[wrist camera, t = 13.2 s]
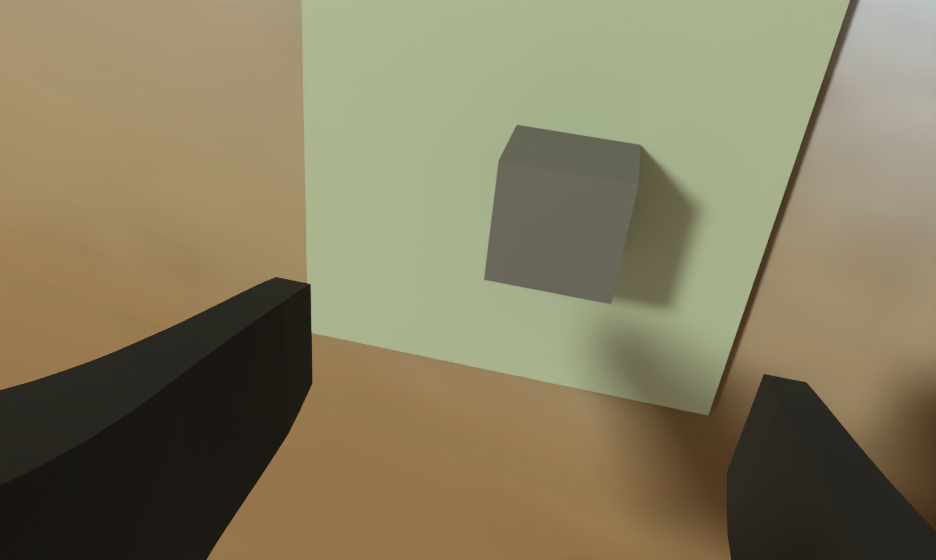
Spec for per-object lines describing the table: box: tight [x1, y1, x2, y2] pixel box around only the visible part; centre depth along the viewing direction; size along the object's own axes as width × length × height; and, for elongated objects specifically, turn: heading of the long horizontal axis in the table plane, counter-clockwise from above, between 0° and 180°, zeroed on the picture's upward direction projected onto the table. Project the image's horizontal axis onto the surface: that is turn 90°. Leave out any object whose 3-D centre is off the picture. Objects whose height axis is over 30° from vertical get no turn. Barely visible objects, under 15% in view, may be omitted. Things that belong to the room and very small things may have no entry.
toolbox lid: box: [302, 0, 850, 416], centre depth 18 cm, size 12×12×4 cm
